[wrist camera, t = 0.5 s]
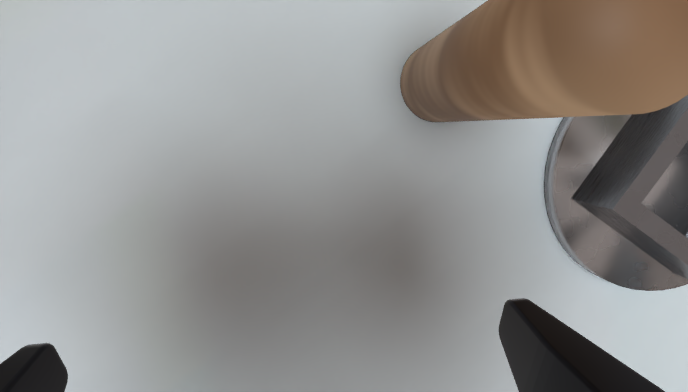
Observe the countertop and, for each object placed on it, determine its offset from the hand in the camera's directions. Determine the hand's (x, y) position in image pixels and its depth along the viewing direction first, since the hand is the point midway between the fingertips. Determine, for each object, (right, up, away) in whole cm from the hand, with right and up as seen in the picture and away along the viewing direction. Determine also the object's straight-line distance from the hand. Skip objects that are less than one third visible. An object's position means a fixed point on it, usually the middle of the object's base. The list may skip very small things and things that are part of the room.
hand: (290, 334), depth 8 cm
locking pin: (+6, +9, +13) cm, 17 cm away
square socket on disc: (+19, +4, +15) cm, 24 cm away
